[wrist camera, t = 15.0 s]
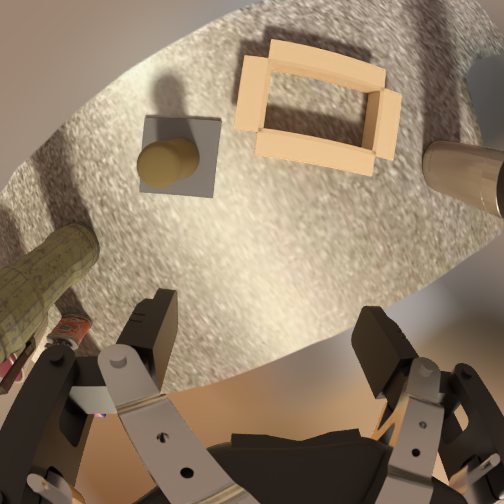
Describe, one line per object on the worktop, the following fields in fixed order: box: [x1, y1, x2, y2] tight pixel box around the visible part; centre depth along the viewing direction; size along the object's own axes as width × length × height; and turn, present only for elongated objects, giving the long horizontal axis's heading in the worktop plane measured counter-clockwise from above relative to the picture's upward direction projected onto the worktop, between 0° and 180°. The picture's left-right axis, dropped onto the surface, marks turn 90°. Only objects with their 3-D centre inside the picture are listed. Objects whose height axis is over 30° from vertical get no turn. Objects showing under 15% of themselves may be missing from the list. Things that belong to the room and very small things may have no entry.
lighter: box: [44, 314, 93, 350], centre depth 42 cm, size 8×3×10 cm, turn 92°
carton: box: [234, 39, 402, 177], centre depth 32 cm, size 22×16×4 cm
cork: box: [137, 137, 200, 188], centre depth 31 cm, size 6×6×11 cm
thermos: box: [0, 222, 100, 395], centre depth 25 cm, size 9×12×35 cm
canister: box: [0, 312, 48, 383], centre depth 36 cm, size 18×18×21 cm
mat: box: [140, 118, 222, 198], centre depth 36 cm, size 11×11×1 cm
